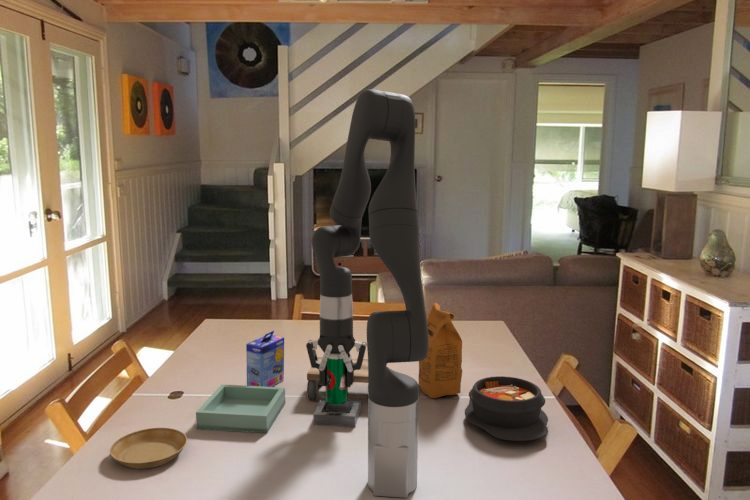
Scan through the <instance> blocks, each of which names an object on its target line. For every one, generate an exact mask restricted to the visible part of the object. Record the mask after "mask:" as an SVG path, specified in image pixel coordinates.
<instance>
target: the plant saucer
mask: <svg viewBox="0 0 750 500" xmlns="http://www.w3.org/2000/svg"><path fill="white" fill-rule="evenodd" d="M187 442H188V438H187V436H186V434H185V433H184V432H182V431H181V430H179V429H175V428H170V427H152V428H144V429H139V430H137V431H133V432H131V433H127V434H125V435H123V436H122V437H120V438H118V439H117V440H115V441H114V442H113V443H112V445H110V449H109V453H110V456H111V457H112V458H113V459H114V460H115V461H116V462H117V463H119V464H121V465H123V466H125V467H127V468H130V469H136V470H143V469H144V470H145V469H151V468H156V467H160V466H163V465H165V464H168V463H169V462H171V461H172V460H173V459H175V458H176V457H177V456H178V455H179V454H180V453H181V452H182V451H183V450H184V448H185V446H186V445H187Z"/></svg>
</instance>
